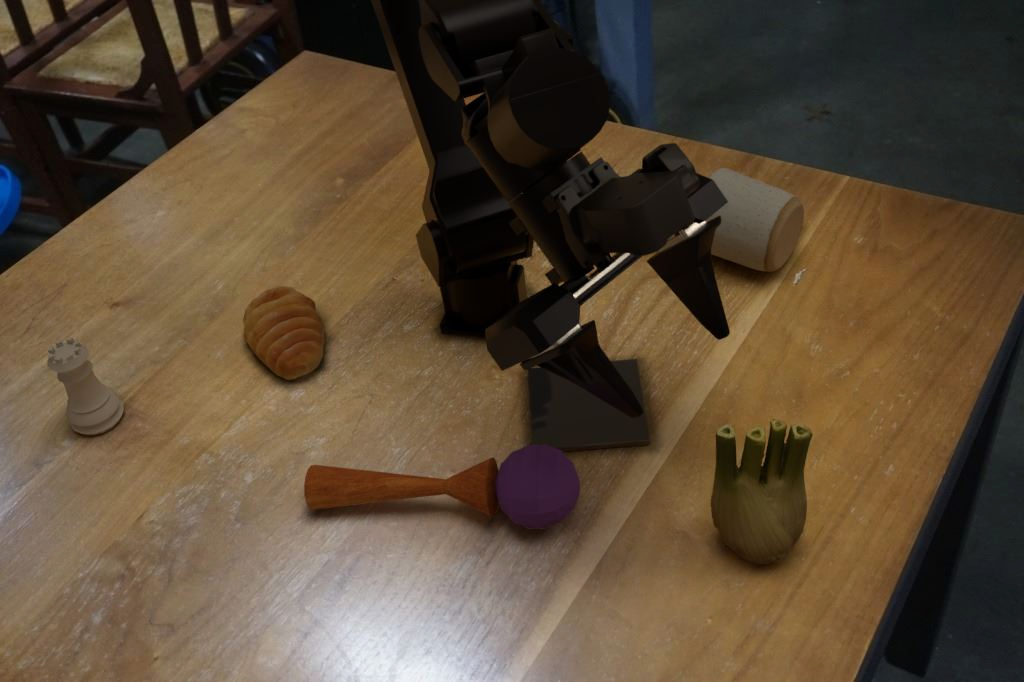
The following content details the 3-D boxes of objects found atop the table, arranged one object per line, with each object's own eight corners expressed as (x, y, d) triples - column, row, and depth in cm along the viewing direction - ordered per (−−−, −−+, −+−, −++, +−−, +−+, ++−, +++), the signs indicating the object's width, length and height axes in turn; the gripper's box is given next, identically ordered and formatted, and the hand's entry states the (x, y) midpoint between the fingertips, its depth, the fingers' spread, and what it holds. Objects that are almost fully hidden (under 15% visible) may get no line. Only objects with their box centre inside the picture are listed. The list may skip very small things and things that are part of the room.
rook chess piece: (77, 446, 89) (39, 376, 84) (67, 412, 92) (30, 343, 87) (131, 424, 91) (97, 354, 85) (119, 391, 94) (86, 322, 88)
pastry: (345, 366, 93) (335, 333, 91) (269, 396, 92) (257, 363, 89) (311, 304, 100) (302, 272, 97) (240, 331, 98) (228, 298, 96)
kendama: (316, 430, 83) (579, 426, 78) (333, 492, 86) (588, 491, 81) (289, 481, 78) (569, 480, 73) (309, 544, 81) (578, 547, 77)
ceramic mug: (769, 292, 95) (776, 220, 90) (684, 264, 99) (687, 193, 94) (819, 228, 101) (828, 157, 96) (737, 203, 105) (742, 134, 100)
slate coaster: (533, 454, 84) (532, 450, 84) (528, 372, 91) (527, 368, 91) (650, 444, 84) (650, 440, 84) (636, 362, 91) (636, 358, 90)
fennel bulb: (703, 551, 76) (708, 435, 68) (732, 501, 79) (740, 384, 71) (783, 584, 74) (798, 468, 66) (809, 531, 77) (827, 414, 69)
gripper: (499, 206, 59) (664, 441, 60) (707, 60, 68) (847, 267, 69) (421, 265, 68) (565, 466, 70) (612, 131, 77) (737, 311, 79)
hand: (682, 375), depth 72 cm, fingers open, 9 cm apart
